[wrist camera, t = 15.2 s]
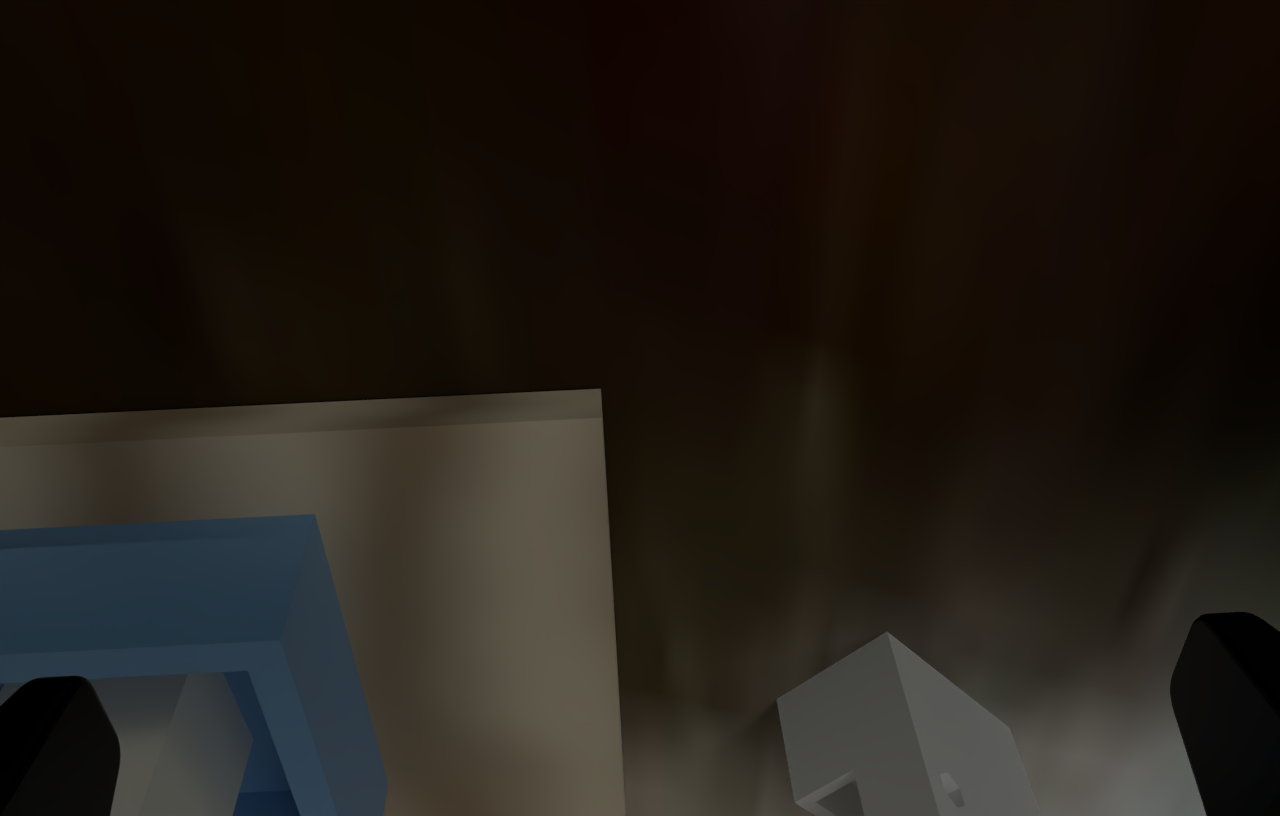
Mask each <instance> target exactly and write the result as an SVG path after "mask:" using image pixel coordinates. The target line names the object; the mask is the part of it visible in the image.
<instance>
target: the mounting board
mask: <svg viewBox="0 0 1280 816" xmlns="http://www.w3.org/2000/svg"><path fill="white" fill-rule="evenodd" d="M307 514H315V516H316V519H317V523H318V527H319V530H320V534H321V538H322V541H323V545H324V549H325V553H326V556H327V560H328V564H329V567H330V571H331V575H332V578H333V582H334V586H335V589H336V593H337V597H338V600H339V604H340V608H341V611H342V615H343V619H344V622H345V626H346V630H347V633H348V637H349V641H350V644H351V648H352V652H353V655H354V659H355V663H356V666H357V670H358V674H359V678H360V681H361V685H362V689H363V692H364V696H365V700H366V703H367V707H368V711H369V714H370V718H371V722H372V725H373V729H374V733H375V736H376V740H377V744H378V747H379V751H380V755H381V758H382V762H383V766H384V769H385V773H386V777H387V780H388V789H387V795H386V802H385V808H384V815H383V816H626V808H625V784H624V767H623V750H622V734H621V717H620V700H619V683H618V667H617V650H616V633H615V617H614V600H613V583H612V566H611V550H610V533H609V516H608V500H607V483H606V466H605V450H604V433H603V416H602V399H601V389H584V390H564V391H543V392H522V393H502V394H481V395H461V396H440V397H419V398H399V399H378V400H357V401H337V402H316V403H295V404H275V405H254V406H233V407H213V408H192V409H171V410H151V411H130V412H110V413H89V414H68V415H48V416H27V417H6V418H0V530H9V529H29V528H49V527H69V526H89V525H109V524H129V523H148V522H168V521H188V520H208V519H228V518H248V517H268V516H288V515H307Z"/></svg>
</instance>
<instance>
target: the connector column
mask: <svg viewBox="0 0 1280 816" xmlns="http://www.w3.org/2000/svg"><path fill="white" fill-rule="evenodd" d="M87 680H88V681H90V682H91V684H92V686H93V687H94V689H95V691H96V693H97V695H98V697H99V699H100V701H101V703H102V705H103V707H104V709H105V711H106V713H107V715H108V717H109V719H110V721H111V723H112V725H113V727H114V729H115V731H116V733H117V736H118V739H119V744H120V753H121V756H120V767H119V773H118V778H117V783H116V788H115V793H114V798H113V803H112V808H111V814H110V816H233V812H234V809H235V805H236V801H237V798H238V794H239V790H240V787H241V783H242V779H243V776H244V772H245V768H246V765H247V761H248V757H249V754H250V750H251V746H252V743H253V738H252V736H251V733H250V731H249V729H248V727H247V725H246V722H245V720H244V718H243V716H242V713H241V711H240V709H239V707H238V704H237V702H236V700H235V698H234V696H233V693H232V691H231V689H230V687H229V684H228V682H227V680H226V678H225V675H224V673H223V672H212V673H193V674H174V675H155V676H136V677H117V678H98V679H87ZM25 683H27V682H23V683H4V685H3V687H2V689H1V691H0V705H1V704H3V703H4V702H5V701H6V700H7V699H8V698H9V697H10V696H11V695H12V694H13V693H14V692H16V691H17V690H18V689H19V688H20V687H21V686H23V685H24V684H25Z"/></svg>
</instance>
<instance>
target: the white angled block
mask: <svg viewBox="0 0 1280 816" xmlns="http://www.w3.org/2000/svg"><path fill="white" fill-rule="evenodd" d="M776 700H777V705H778V711H779V717H780V723H781V728H782V734H783V740H784V746H785V751H786V757H787V763H788V769H789V775H790V780H791V786H792V792H793V798H794V803H796V804H797V805H799V806H800V807H802V808H804V809H805V810H807V811H808V812H810V813H811V814H813V815H815V816H1042V815H1041V812H1040V809H1039V807H1038V804H1037V801H1036V798H1035V796H1034V793H1033V790H1032V788H1031V785H1030V782H1029V779H1028V777H1027V774H1026V771H1025V769H1024V766H1023V763H1022V760H1021V758H1020V755H1019V752H1018V750H1017V747H1016V744H1015V741H1014V739H1013V736H1012V733H1011V731H1010V728H1009V727H1008V726H1006V725H1005V724H1004V723H1002V722H1001V721H1000V720H999V719H997V718H996V717H995V716H994V715H992V714H991V713H990V712H989V711H987V710H986V709H985V708H983V707H982V706H981V705H980V704H978V703H977V702H976V701H975V700H973V699H972V698H971V697H969V696H968V695H967V694H966V693H964V692H963V691H962V690H961V689H959V688H958V687H957V686H956V685H954V684H953V683H952V682H950V681H949V680H948V679H947V678H945V677H944V676H943V675H942V674H940V673H939V672H938V671H936V670H935V669H934V668H933V667H931V666H930V665H929V664H928V663H926V662H925V661H924V660H923V659H921V658H920V657H919V656H917V655H916V654H915V653H914V652H912V651H911V650H910V649H909V648H907V647H906V646H905V645H903V644H902V643H901V642H900V641H898V640H897V639H896V638H895V637H893V636H892V635H891V634H889V633H888V632H885V633H884V634H882V635H880V636H879V637H877V638H875V639H874V640H872V641H871V642H869V643H867V644H866V645H864V646H862V647H861V648H859V649H858V650H856V651H854V652H853V653H851V654H849V655H848V656H846V657H845V658H843V659H841V660H840V661H838V662H836V663H835V664H833V665H831V666H830V667H828V668H827V669H825V670H823V671H822V672H820V673H818V674H817V675H815V676H814V677H812V678H810V679H809V680H807V681H805V682H804V683H802V684H800V685H799V686H797V687H796V688H794V689H792V690H791V691H789V692H787V693H786V694H784V695H783V696H781V697H779V698H778V699H776Z"/></svg>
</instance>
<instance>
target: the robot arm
mask: <svg viewBox="0 0 1280 816" xmlns="http://www.w3.org/2000/svg"><path fill="white" fill-rule="evenodd" d="M1170 696H1171V702H1172V707H1173V710H1174V714H1175V717H1176V720H1177V723H1178V726H1179V729H1180V733H1181V736H1182V739H1183V742H1184V745H1185V748H1186V752H1187V755H1188V758H1189V761H1190V764H1191V768H1192V771H1193V774H1194V777H1195V780H1196V783H1197V787H1198V790H1199V793H1200V796H1201V799H1202V802H1203V806H1204V809H1205V812H1206V815H1207V816H1280V632H1279V631H1278V630H1276V629H1275V628H1274V627H1272V626H1271V625H1269V624H1268V623H1267V622H1265V621H1264V620H1262V619H1261V618H1259V617H1257V616H1255V615H1253V614H1251V613H1247V612H1230V613H1212V614H1204V615H1201V616H1200V617H1199V618H1197V619H1196V620H1195V621H1194V623H1193V624H1192V626H1191V629H1190V631H1189V634H1188V637H1187V639H1186V642H1185V644H1184V647H1183V649H1182V652H1181V654H1180V657H1179V659H1178V662H1177V665H1176V667H1175V670H1174V672H1173V675H1172V679H1171V685H1170ZM120 756H121V753H120V744H119V739H118V736H117V733H116V731H115V729H114V727H113V725H112V723H111V721H110V719H109V717H108V715H107V713H106V711H105V709H104V707H103V705H102V703H101V701H100V699H99V697H98V695H97V693H96V691H95V689H94V687H93V686H92V684H91V682H90V681H88V680H87V679H86V678H84V677H82V676H77V675H75V676H56V677H41V678H36V679H33V680H30V681H29V682H27V683H25V684H24V685H23V686H21V687H20V688H19V689H18V690H17V691H16V692H14V693H13V694H12V695H11V696H10V697H9V698H8V699H7V700H6V701H5V702H4V703H3V704H1V705H0V816H110V814H111V808H112V803H113V798H114V793H115V788H116V783H117V778H118V773H119V767H120Z"/></svg>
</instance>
